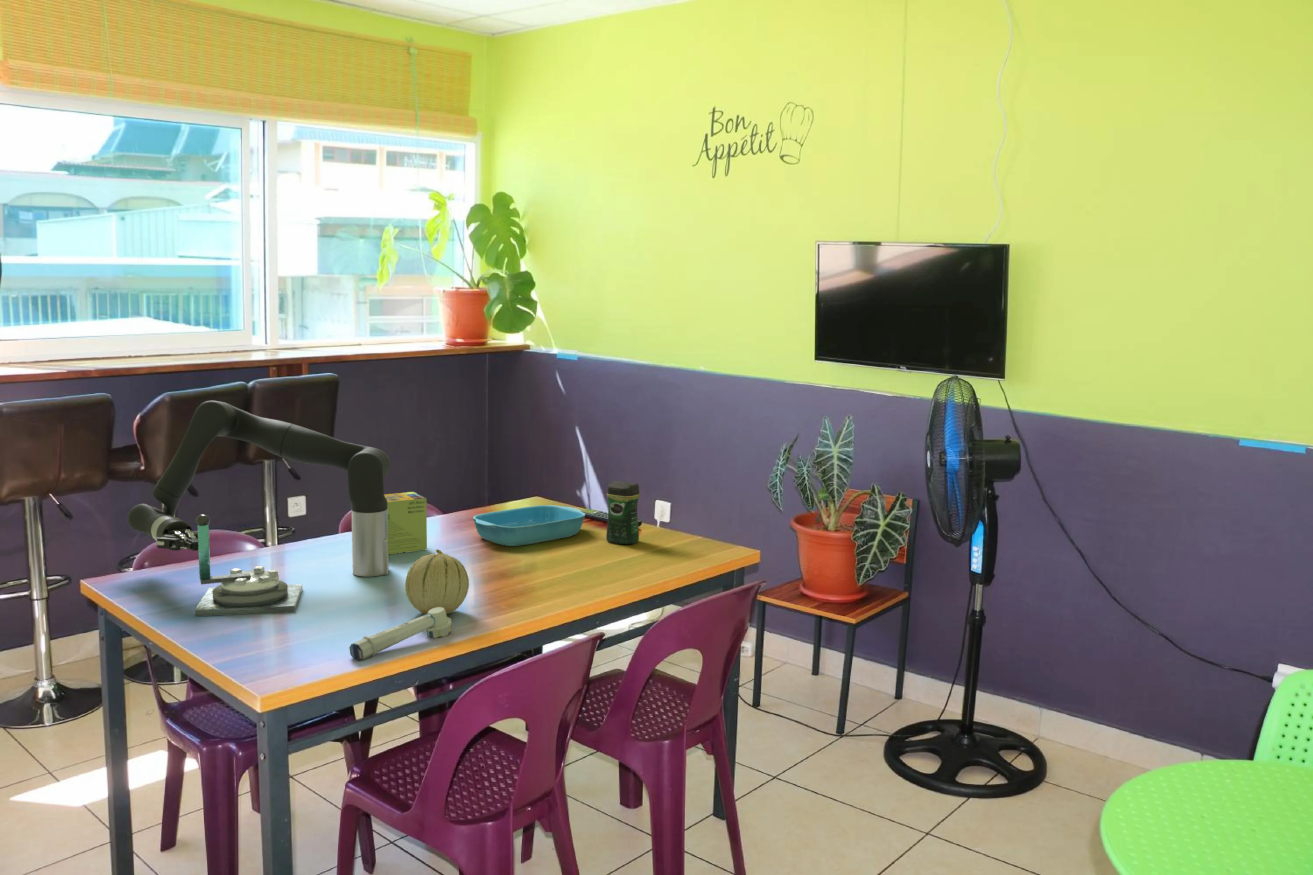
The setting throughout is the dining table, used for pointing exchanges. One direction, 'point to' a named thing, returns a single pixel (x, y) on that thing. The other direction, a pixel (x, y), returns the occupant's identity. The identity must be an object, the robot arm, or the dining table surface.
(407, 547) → the protein box
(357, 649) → the beige piece
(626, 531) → the coffee jar
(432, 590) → the cantaloupe
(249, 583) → the crank handle wheel
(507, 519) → the casserole dish
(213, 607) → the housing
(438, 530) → the dining table surface
